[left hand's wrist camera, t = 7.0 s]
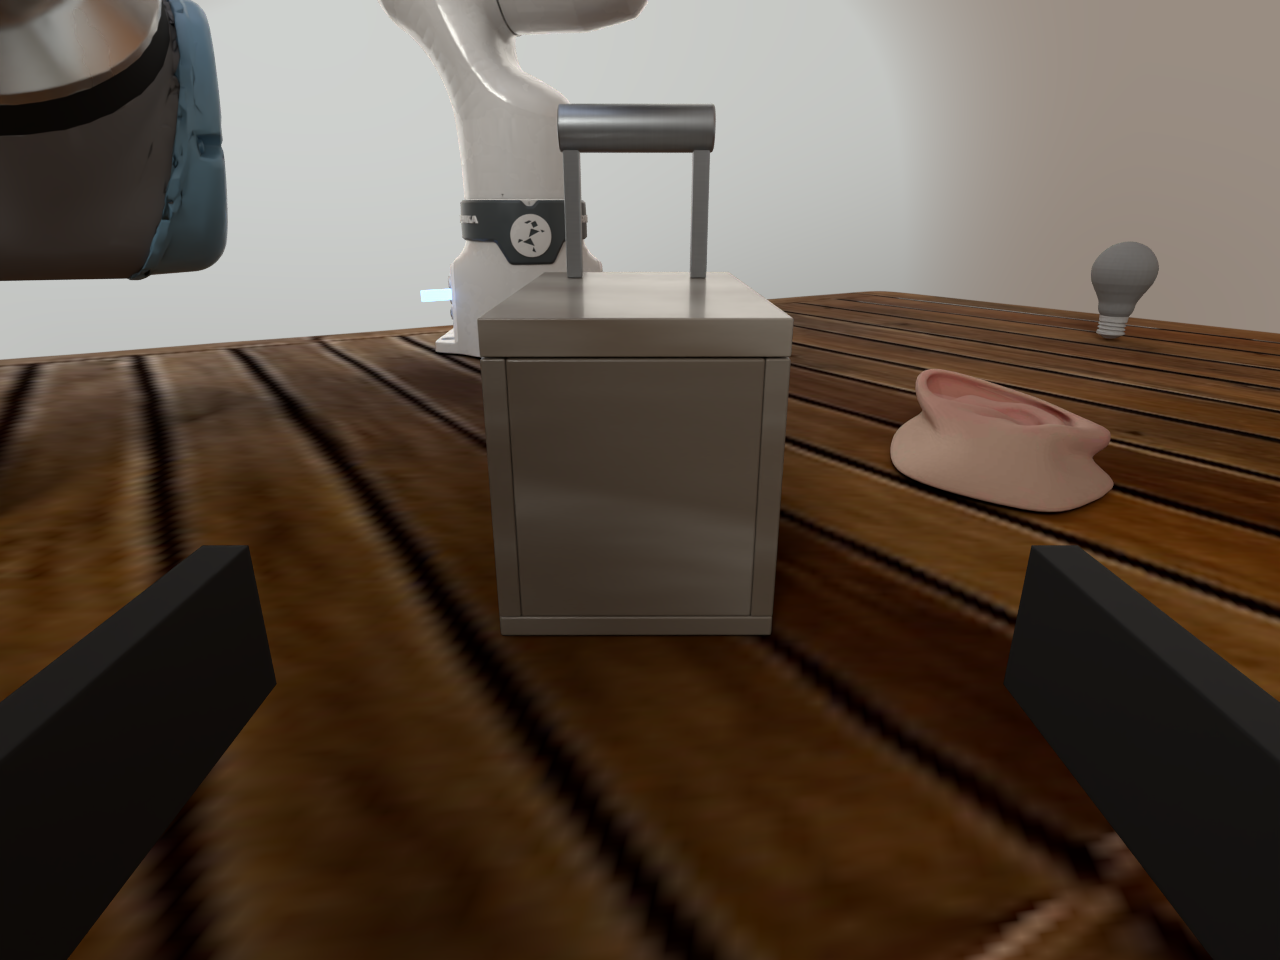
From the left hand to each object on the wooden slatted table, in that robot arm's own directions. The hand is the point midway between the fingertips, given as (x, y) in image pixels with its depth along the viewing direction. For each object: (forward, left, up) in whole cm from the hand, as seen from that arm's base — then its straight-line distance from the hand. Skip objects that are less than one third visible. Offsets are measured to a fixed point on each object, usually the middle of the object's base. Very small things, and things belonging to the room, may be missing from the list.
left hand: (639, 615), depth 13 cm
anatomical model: (-12, +32, -7) cm, 35 cm away
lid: (-16, +11, +2) cm, 19 cm away
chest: (-15, +10, -7) cm, 20 cm away
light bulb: (-28, +82, -7) cm, 87 cm away
